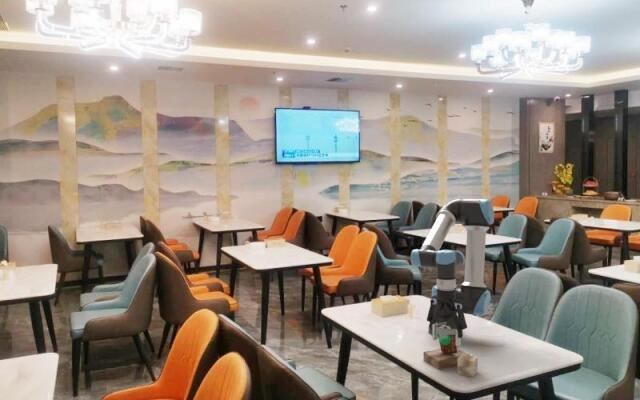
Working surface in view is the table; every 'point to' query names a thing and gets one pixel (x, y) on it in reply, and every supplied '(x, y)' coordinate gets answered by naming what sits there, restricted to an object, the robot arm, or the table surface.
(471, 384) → the table surface
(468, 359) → the cream cube
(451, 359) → the base block
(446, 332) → the food container
